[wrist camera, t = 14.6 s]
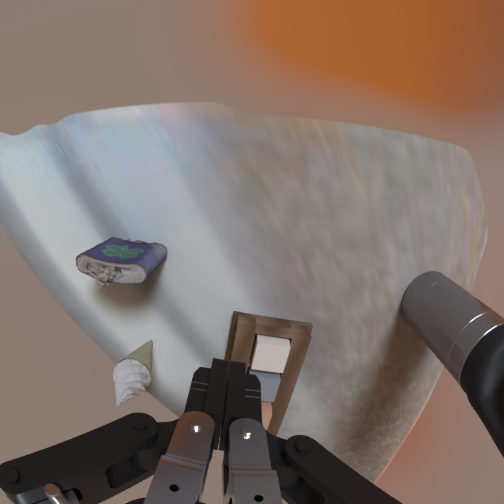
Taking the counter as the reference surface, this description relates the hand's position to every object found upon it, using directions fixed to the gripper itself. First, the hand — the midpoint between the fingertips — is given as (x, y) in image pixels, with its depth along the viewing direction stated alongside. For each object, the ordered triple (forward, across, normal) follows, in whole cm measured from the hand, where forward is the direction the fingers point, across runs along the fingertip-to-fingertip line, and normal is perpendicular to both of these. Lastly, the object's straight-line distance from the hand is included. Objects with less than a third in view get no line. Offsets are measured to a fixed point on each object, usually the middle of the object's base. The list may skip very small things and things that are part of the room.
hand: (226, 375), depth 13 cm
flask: (+27, +14, +4) cm, 31 cm away
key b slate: (+24, -6, +19) cm, 31 cm away
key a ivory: (+24, -6, +14) cm, 28 cm away
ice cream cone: (+27, +11, +18) cm, 34 cm away
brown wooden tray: (+27, -6, +22) cm, 35 cm away
